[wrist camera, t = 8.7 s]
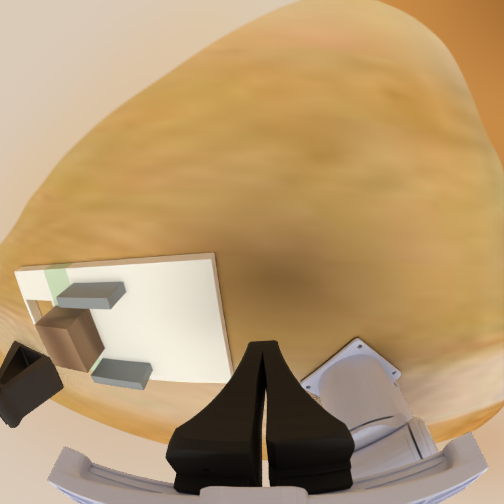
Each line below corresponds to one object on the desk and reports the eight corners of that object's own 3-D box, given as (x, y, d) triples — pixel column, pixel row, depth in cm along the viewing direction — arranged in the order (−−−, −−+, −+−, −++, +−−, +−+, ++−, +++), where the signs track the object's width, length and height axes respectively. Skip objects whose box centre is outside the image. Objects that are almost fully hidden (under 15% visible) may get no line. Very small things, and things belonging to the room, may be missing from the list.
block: (88, 307, 22) (66, 329, 19) (105, 348, 24) (87, 372, 20) (55, 305, 23) (34, 324, 19) (72, 344, 24) (54, 365, 21)
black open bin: (26, 368, 30) (-10, 412, 18) (14, 340, 28) (-28, 384, 16) (64, 386, 30) (29, 440, 18) (52, 358, 28) (8, 414, 16)
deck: (214, 252, 22) (203, 275, 17) (233, 372, 26) (229, 405, 22) (22, 266, 23) (-3, 282, 19) (58, 356, 27) (42, 377, 23)
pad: (73, 262, 23) (65, 268, 21) (112, 365, 27) (107, 373, 25) (51, 264, 23) (43, 269, 21) (90, 362, 27) (85, 369, 26)
